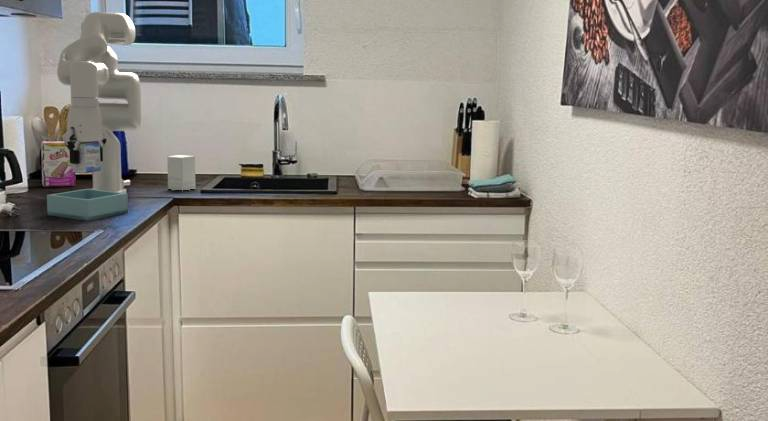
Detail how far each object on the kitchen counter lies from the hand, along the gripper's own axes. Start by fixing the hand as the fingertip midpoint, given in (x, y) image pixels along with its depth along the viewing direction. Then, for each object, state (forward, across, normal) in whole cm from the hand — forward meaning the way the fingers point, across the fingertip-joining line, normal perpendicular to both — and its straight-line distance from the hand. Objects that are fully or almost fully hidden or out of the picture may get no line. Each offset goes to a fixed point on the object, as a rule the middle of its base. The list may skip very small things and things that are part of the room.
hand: (86, 162), depth 225 cm
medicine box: (+3, 0, 0) cm, 3 cm away
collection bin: (+16, 0, 0) cm, 16 cm away
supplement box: (+16, -55, -9) cm, 58 cm away
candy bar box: (+16, -36, -50) cm, 64 cm away
